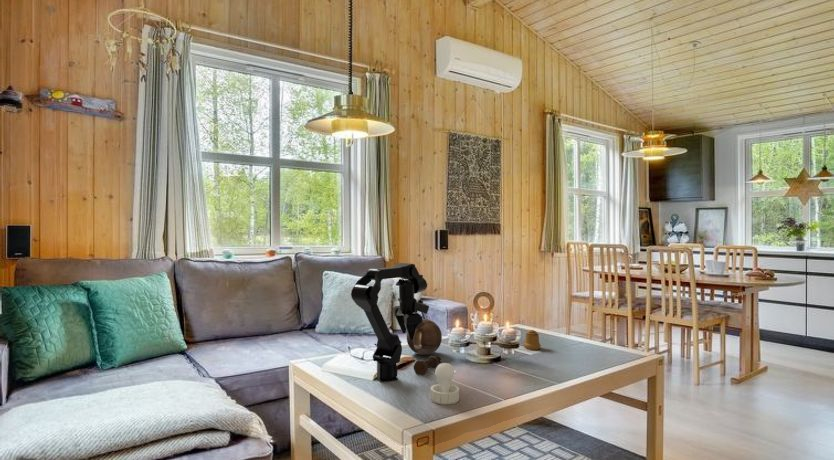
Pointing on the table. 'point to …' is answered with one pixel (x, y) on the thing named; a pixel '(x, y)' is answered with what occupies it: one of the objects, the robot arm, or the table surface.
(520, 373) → the table surface
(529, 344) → the brass bell
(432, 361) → the bolt
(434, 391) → the ring
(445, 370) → the lightbulb
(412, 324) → the robot arm
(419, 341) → the wooden sphere
